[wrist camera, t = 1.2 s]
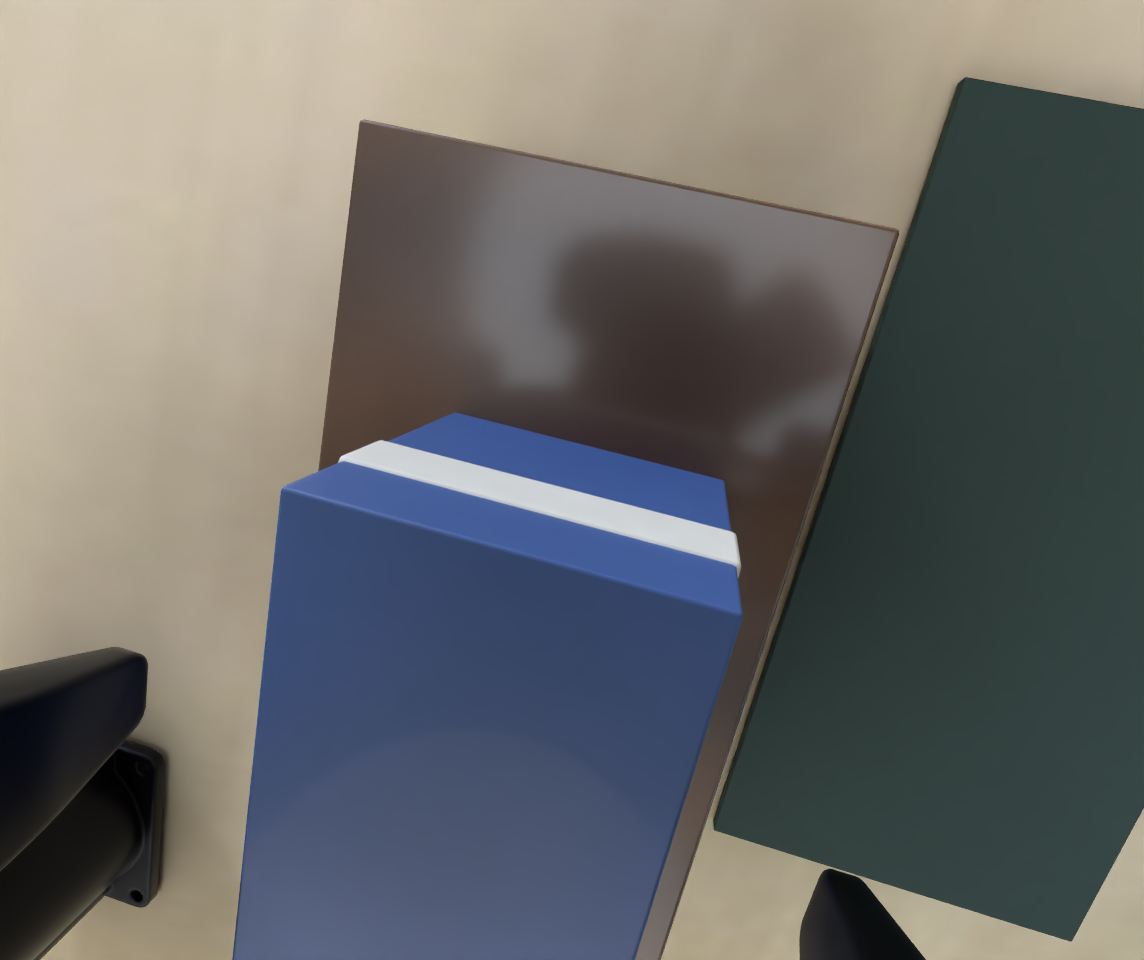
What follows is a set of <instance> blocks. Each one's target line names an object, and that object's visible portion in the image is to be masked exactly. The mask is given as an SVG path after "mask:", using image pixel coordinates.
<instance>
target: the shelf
mask: <svg viewBox="0 0 1144 960" xmlns="http://www.w3.org/2000/svg"><path fill="white" fill-rule="evenodd" d="M898 235H899V231H898V230H897V229H895V228H890V227H885V226H880V225H875V224H871V223H866V222H861V221H856V220H851V219H846V218H841V217H836V216H832V215H827V214H822V213H817V212H812V211H807V210H802V209H797V208H793V207H788V206H783V205H778V204H773V203H768V202H763V201H758V200H754V199H749V198H744V197H739V196H734V195H729V194H724V193H720V192H715V191H710V190H705V189H700V188H695V187H690V186H685V185H681V184H676V183H671V182H666V181H661V180H656V179H651V178H646V177H642V176H637V175H632V174H627V173H622V172H617V171H612V170H607V169H603V168H598V167H593V166H588V165H583V164H578V163H573V162H568V161H564V160H559V159H554V158H549V157H544V156H539V155H534V154H530V153H525V152H520V151H515V150H510V149H505V148H500V147H495V146H491V145H486V144H481V143H476V142H471V141H466V140H461V139H456V138H452V137H447V136H442V135H437V134H432V133H427V132H422V131H417V130H413V129H408V128H403V127H398V126H393V125H388V124H383V123H379V122H374V121H369V120H361V121H360V124H359V132H358V141H357V149H356V157H355V166H354V174H353V183H352V191H351V200H350V208H349V217H348V225H347V234H346V242H345V251H344V259H343V268H342V276H341V284H340V293H339V301H338V310H337V318H336V327H335V335H334V344H333V352H332V361H331V369H330V378H329V386H328V394H327V403H326V411H325V420H324V428H323V437H322V445H321V454H320V462H319V471H321V470H323V469H325V468H328V467H330V466H332V465H334V464H337V463H338V461H339V459H340V457H341V456H343V455H345V454H348V453H350V452H353V451H355V450H357V449H360V448H362V447H365V446H367V445H369V444H372V443H374V442H376V441H380V440H383V441H387V442H388V441H390V440H392V439H395V438H397V437H399V436H401V435H404V434H406V433H408V432H411V431H413V430H415V429H418V428H420V427H422V426H425V425H427V424H429V423H431V422H434V421H436V420H438V419H441V418H443V417H445V416H448V415H450V414H452V413H460V414H464V415H468V416H472V417H476V418H480V419H484V420H488V421H492V422H496V423H500V424H504V425H508V426H512V427H515V428H519V429H523V430H527V431H531V432H535V433H539V434H543V435H547V436H551V437H555V438H559V439H563V440H567V441H571V442H575V443H579V444H583V445H587V446H590V447H594V448H598V449H602V450H606V451H610V452H614V453H618V454H622V455H626V456H630V457H634V458H638V459H642V460H646V461H650V462H654V463H658V464H662V465H665V466H669V467H673V468H677V469H681V470H685V471H689V472H693V473H697V474H701V475H705V476H709V477H713V478H717V479H721V480H723V481H724V482H725V489H726V496H727V503H728V511H729V518H730V525H731V532H733V533H735V534H736V536H737V542H738V548H739V555H740V561H741V570H740V574H739V577H738V583H739V590H740V597H741V604H742V611H743V619H742V622H741V625H740V628H739V632H738V635H737V638H736V641H735V644H734V647H733V651H732V654H731V657H730V660H729V663H728V666H727V670H726V673H725V676H724V679H723V682H722V686H721V689H720V692H719V695H718V698H717V701H716V705H715V708H714V711H713V714H712V717H711V720H710V724H709V727H708V730H707V733H706V736H705V739H704V743H703V746H702V749H701V752H700V755H699V759H698V762H697V765H696V768H695V771H694V774H693V778H692V781H691V784H690V787H689V790H688V793H687V797H686V800H685V803H684V806H683V809H682V812H681V816H680V819H679V822H678V825H677V828H676V832H675V835H674V838H673V841H672V844H671V847H670V851H669V854H668V857H667V860H666V863H665V866H664V870H663V873H662V876H661V879H660V882H659V886H658V889H657V892H656V895H655V898H654V901H653V905H652V908H651V911H650V914H649V917H648V920H647V924H646V927H645V930H644V933H643V936H642V939H641V943H640V946H639V949H638V952H637V955H636V959H635V960H661V957H662V954H663V951H664V948H665V945H666V942H667V939H668V936H669V933H670V930H671V927H672V924H673V920H674V917H675V914H676V911H677V908H678V905H679V902H680V899H681V896H682V893H683V890H684V887H685V884H686V881H687V878H688V875H689V872H690V869H691V866H692V863H693V860H694V857H695V853H696V850H697V847H698V844H699V841H700V838H701V835H702V832H703V829H704V826H705V823H706V820H707V817H708V814H709V811H710V808H711V805H712V802H713V799H714V796H715V793H716V790H717V787H718V783H719V780H720V777H721V774H722V771H723V768H724V765H725V762H726V759H727V756H728V753H729V750H730V747H731V744H732V741H733V738H734V735H735V732H736V729H737V726H738V723H739V720H740V716H741V713H742V710H743V707H744V704H745V701H746V698H747V695H748V692H749V689H750V686H751V683H752V680H753V677H754V674H755V671H756V668H757V665H758V662H759V659H760V656H761V653H762V650H763V646H764V643H765V640H766V637H767V634H768V631H769V628H770V625H771V622H772V619H773V616H774V613H775V610H776V607H777V604H778V601H779V598H780V595H781V592H782V589H783V586H784V583H785V579H786V576H787V573H788V570H789V567H790V564H791V561H792V558H793V555H794V552H795V549H796V546H797V543H798V540H799V537H800V534H801V531H802V528H803V525H804V522H805V519H806V516H807V513H808V509H809V506H810V503H811V500H812V497H813V494H814V491H815V488H816V485H817V482H818V479H819V476H820V473H821V470H822V467H823V464H824V461H825V458H826V455H827V452H828V449H829V446H830V442H831V439H832V436H833V433H834V430H835V427H836V424H837V421H838V418H839V415H840V412H841V409H842V406H843V403H844V400H845V397H846V394H847V391H848V388H849V385H850V382H851V379H852V375H853V372H854V369H855V366H856V363H857V360H858V357H859V354H860V351H861V348H862V345H863V342H864V339H865V336H866V333H867V330H868V327H869V324H870V321H871V318H872V315H873V312H874V309H875V305H876V302H877V299H878V296H879V293H880V290H881V287H882V284H883V281H884V278H885V275H886V272H887V269H888V266H889V263H890V260H891V257H892V254H893V251H894V248H895V245H896V242H897V238H898Z"/></svg>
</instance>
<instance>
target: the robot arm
mask: <svg viewBox="0 0 1144 960" xmlns="http://www.w3.org/2000/svg"><path fill="white" fill-rule="evenodd" d="M147 674H148V662H147V660H146V658H145V657H144V656H143V655H142V654H140V653H136V652H133V651H130V650H127V649H124V648H120V647H110V648H105V649H100V650H96V651H91V652H86V653H81V654H77V655H72V656H67V657H62V658H58V659H53V660H48V661H43V662H39V663H34V664H29V665H24V666H20V667H15V668H10V669H5V670H1V671H0V960H40V959H41V958H42V957H43V956H44V955H45V954H46V953H47V952H48V951H49V950H50V949H51V948H52V947H53V946H54V945H55V944H56V943H57V942H58V941H59V940H60V939H61V938H62V937H63V936H64V935H65V934H66V933H67V932H69V931H70V930H71V929H72V928H73V927H74V926H75V925H76V924H77V923H78V922H79V921H80V920H81V919H82V918H83V917H84V916H85V915H86V914H87V913H88V912H89V911H90V910H91V909H92V908H93V907H94V906H95V905H96V904H97V903H98V902H99V901H100V900H101V899H102V898H103V897H104V896H108V897H111V898H113V899H116V900H119V901H122V902H125V903H127V904H130V905H133V906H136V907H145V906H146V905H148V904H149V902H150V901H151V900H152V899H153V898H154V897H155V896H156V895H157V891H158V875H159V859H160V843H161V827H162V811H163V794H164V778H165V761H164V759H163V757H162V755H161V754H160V753H159V752H157V751H156V750H154V749H151V748H148V747H145V746H142V745H139V744H136V743H133V742H130V741H127V740H125V739H126V738H127V737H128V736H129V735H130V734H131V733H132V732H133V730H134V729H135V728H136V727H137V726H138V724H139V722H140V721H141V719H142V717H143V715H144V712H145V708H146V693H147ZM800 960H926V959H925V958H924V957H923V956H922V954H921V953H920V952H919V950H918V949H917V948H916V947H915V945H914V944H913V943H912V942H911V940H910V939H909V938H908V937H907V935H906V934H905V933H904V932H903V930H902V929H901V928H900V927H899V925H898V924H897V923H896V922H895V920H894V919H893V918H892V917H891V915H890V914H889V913H888V912H887V910H886V909H885V908H884V906H883V905H882V904H881V903H880V901H879V900H878V899H877V898H876V896H875V895H874V894H873V893H872V891H871V890H870V889H869V888H868V886H867V885H866V884H865V883H864V882H863V881H862V880H861V879H860V878H858V877H856V876H852V875H849V874H846V873H843V872H840V871H836V870H833V869H827V870H824V871H823V873H822V874H821V875H820V877H819V879H818V882H817V885H816V887H815V890H814V892H813V895H812V897H811V900H810V902H809V905H808V907H807V910H806V912H805V915H804V918H803V920H802V924H801V930H800Z"/></svg>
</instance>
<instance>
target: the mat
mask: <svg viewBox="0 0 1144 960" xmlns="http://www.w3.org/2000/svg"><path fill="white" fill-rule="evenodd" d="M1143 808H1144V109H1140V108H1135V107H1129V106H1124V105H1118V104H1112V103H1107V102H1101V101H1096V100H1090V99H1084V98H1079V97H1073V96H1068V95H1062V94H1056V93H1051V92H1045V91H1040V90H1034V89H1028V88H1023V87H1017V86H1012V85H1006V84H1000V83H995V82H989V81H984V80H978V79H972V78H967V77H966V78H964V79H962V80H961V81H960V82H959V83H958V86H957V89H956V92H955V95H954V98H953V101H952V104H951V107H950V110H949V113H948V116H947V119H946V122H945V125H944V128H943V131H942V134H941V137H940V140H939V143H938V146H937V149H936V152H935V155H934V158H933V161H932V164H931V167H930V170H929V173H928V176H927V179H926V182H925V185H924V188H923V191H922V194H921V197H920V200H919V203H918V206H917V209H916V212H915V215H914V218H913V221H912V224H911V227H910V230H909V233H908V236H907V239H906V242H905V245H904V248H903V251H902V254H901V257H900V260H899V263H898V266H897V269H896V272H895V275H894V278H893V281H892V284H891V287H890V290H889V293H888V296H887V299H886V302H885V305H884V308H883V311H882V314H881V317H880V320H879V323H878V326H877V330H876V333H875V336H874V339H873V342H872V345H871V348H870V351H869V354H868V357H867V360H866V363H865V366H864V369H863V372H862V375H861V378H860V381H859V384H858V387H857V390H856V393H855V396H854V399H853V402H852V405H851V408H850V411H849V414H848V417H847V420H846V423H845V426H844V429H843V432H842V435H841V438H840V441H839V444H838V447H837V450H836V453H835V456H834V459H833V462H832V465H831V468H830V471H829V474H828V477H827V480H826V483H825V486H824V489H823V492H822V495H821V498H820V501H819V504H818V507H817V510H816V513H815V516H814V519H813V522H812V525H811V528H810V531H809V534H808V537H807V540H806V543H805V546H804V549H803V552H802V555H801V558H800V561H799V564H798V567H797V570H796V574H795V577H794V580H793V583H792V586H791V589H790V592H789V595H788V598H787V601H786V604H785V607H784V610H783V613H782V616H781V619H780V622H779V625H778V628H777V631H776V634H775V637H774V640H773V643H772V646H771V649H770V652H769V655H768V658H767V661H766V664H765V667H764V670H763V673H762V676H761V679H760V682H759V685H758V688H757V691H756V694H755V697H754V700H753V703H752V706H751V709H750V712H749V715H748V718H747V721H746V724H745V727H744V730H743V733H742V736H741V739H740V742H739V745H738V748H737V751H736V754H735V757H734V760H733V763H732V766H731V769H730V772H729V775H728V778H727V781H726V784H725V787H724V790H723V793H722V796H721V799H720V802H719V805H718V808H717V811H716V814H715V818H714V821H713V824H714V830H715V831H718V832H722V833H725V834H728V835H731V836H734V837H738V838H741V839H744V840H747V841H750V842H754V843H757V844H760V845H763V846H766V847H770V848H773V849H776V850H779V851H782V852H786V853H789V854H792V855H795V856H798V857H802V858H805V859H808V860H811V861H814V862H818V863H821V864H824V865H827V866H830V867H834V868H837V869H840V870H843V871H846V872H850V873H853V874H856V875H859V876H862V877H866V878H869V879H872V880H875V881H878V882H882V883H885V884H888V885H891V886H894V887H898V888H901V889H904V890H907V891H910V892H914V893H917V894H920V895H923V896H926V897H930V898H933V899H936V900H939V901H942V902H946V903H949V904H952V905H955V906H958V907H962V908H965V909H968V910H971V911H974V912H978V913H981V914H984V915H987V916H990V917H994V918H997V919H1000V920H1003V921H1006V922H1010V923H1013V924H1016V925H1019V926H1022V927H1026V928H1029V929H1032V930H1035V931H1038V932H1042V933H1045V934H1048V935H1051V936H1054V937H1058V938H1061V939H1064V940H1067V941H1072V940H1073V938H1074V936H1075V934H1076V932H1077V931H1078V929H1079V927H1080V925H1081V923H1082V921H1083V919H1084V918H1085V916H1086V914H1087V912H1088V910H1089V908H1090V906H1091V905H1092V903H1093V901H1094V899H1095V897H1096V895H1097V893H1098V892H1099V890H1100V888H1101V886H1102V884H1103V882H1104V881H1105V879H1106V877H1107V875H1108V873H1109V871H1110V869H1111V868H1112V866H1113V864H1114V862H1115V860H1116V858H1117V856H1118V855H1119V853H1120V851H1121V849H1122V847H1123V845H1124V843H1125V842H1126V840H1127V838H1128V836H1129V834H1130V832H1131V830H1132V829H1133V827H1134V825H1135V823H1136V821H1137V819H1138V817H1139V816H1140V814H1141V812H1142V810H1143Z"/></svg>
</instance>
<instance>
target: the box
mask: <svg viewBox="0 0 1144 960" xmlns="http://www.w3.org/2000/svg"><path fill="white" fill-rule="evenodd" d="M740 570H741V561H740V555H739V548H738V542H737V536H736V534H735V533H733V532H731V525H730V518H729V511H728V503H727V496H726V489H725V482H724V481H723V480H721V479H717V478H713V477H709V476H705V475H701V474H697V473H693V472H689V471H685V470H681V469H677V468H673V467H669V466H665V465H662V464H658V463H654V462H650V461H646V460H642V459H638V458H634V457H630V456H626V455H622V454H618V453H614V452H610V451H606V450H602V449H598V448H594V447H590V446H587V445H583V444H579V443H575V442H571V441H567V440H563V439H559V438H555V437H551V436H547V435H543V434H539V433H535V432H531V431H527V430H523V429H519V428H515V427H512V426H508V425H504V424H500V423H496V422H492V421H488V420H484V419H480V418H476V417H472V416H468V415H464V414H460V413H452V414H450V415H448V416H445V417H443V418H441V419H438V420H436V421H434V422H431V423H429V424H427V425H425V426H422V427H420V428H418V429H415V430H413V431H411V432H408V433H406V434H404V435H401V436H399V437H397V438H395V439H392V440H390V441H388V442H387V441H383V440H380V441H376V442H374V443H372V444H369V445H367V446H365V447H362V448H360V449H357V450H355V451H353V452H350V453H348V454H345V455H343V456H341V457H340V459H339V461H338V463H337V464H334V465H332V466H330V467H328V468H325V469H323V470H321V471H318V472H316V473H314V474H311V475H309V476H307V477H304V478H302V479H300V480H298V481H295V482H293V483H291V484H288V485H286V486H284V487H283V488H282V490H281V496H280V505H279V515H278V525H277V535H276V544H275V554H274V564H273V573H272V583H271V593H270V602H269V612H268V622H267V631H266V641H265V651H264V660H263V670H262V680H261V689H260V699H259V709H258V718H257V728H256V738H255V747H254V757H253V767H252V777H251V786H250V796H249V806H248V815H247V825H246V835H245V844H244V854H243V864H242V873H241V883H240V893H239V902H238V912H237V922H236V931H235V941H234V951H233V960H635V959H636V955H637V952H638V949H639V946H640V943H641V939H642V936H643V933H644V930H645V927H646V924H647V920H648V917H649V914H650V911H651V908H652V905H653V901H654V898H655V895H656V892H657V889H658V886H659V882H660V879H661V876H662V873H663V870H664V866H665V863H666V860H667V857H668V854H669V851H670V847H671V844H672V841H673V838H674V835H675V832H676V828H677V825H678V822H679V819H680V816H681V812H682V809H683V806H684V803H685V800H686V797H687V793H688V790H689V787H690V784H691V781H692V778H693V774H694V771H695V768H696V765H697V762H698V759H699V755H700V752H701V749H702V746H703V743H704V739H705V736H706V733H707V730H708V727H709V724H710V720H711V717H712V714H713V711H714V708H715V705H716V701H717V698H718V695H719V692H720V689H721V686H722V682H723V679H724V676H725V673H726V670H727V666H728V663H729V660H730V657H731V654H732V651H733V647H734V644H735V641H736V638H737V635H738V632H739V628H740V625H741V622H742V619H743V611H742V604H741V597H740V590H739V583H738V577H739V574H740Z"/></svg>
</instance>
